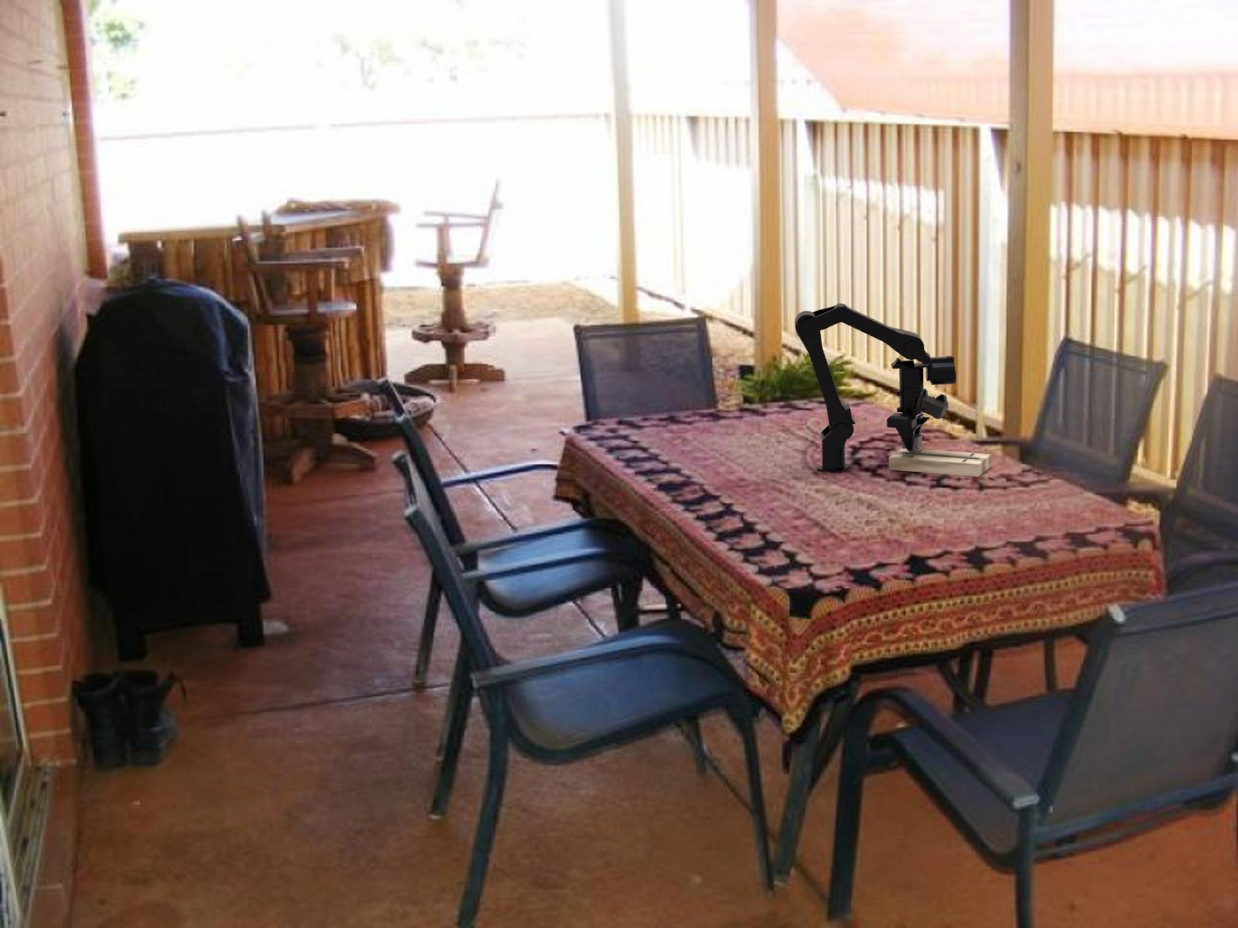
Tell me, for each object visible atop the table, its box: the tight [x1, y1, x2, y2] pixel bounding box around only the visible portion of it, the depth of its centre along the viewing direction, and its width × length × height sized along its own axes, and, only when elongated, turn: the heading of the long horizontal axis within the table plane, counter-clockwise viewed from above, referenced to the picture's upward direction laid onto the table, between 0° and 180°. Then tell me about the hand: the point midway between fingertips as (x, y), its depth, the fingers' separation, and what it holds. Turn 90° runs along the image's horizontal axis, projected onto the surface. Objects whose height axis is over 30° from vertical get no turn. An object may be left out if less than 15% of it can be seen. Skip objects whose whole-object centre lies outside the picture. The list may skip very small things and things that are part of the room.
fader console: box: [888, 448, 992, 478], centre depth 363 cm, size 10×22×3 cm, turn 60°
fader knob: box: [901, 434, 923, 453], centre depth 365 cm, size 3×4×4 cm
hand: (912, 449), depth 365 cm, fingers closed on fader knob, 3 cm apart
